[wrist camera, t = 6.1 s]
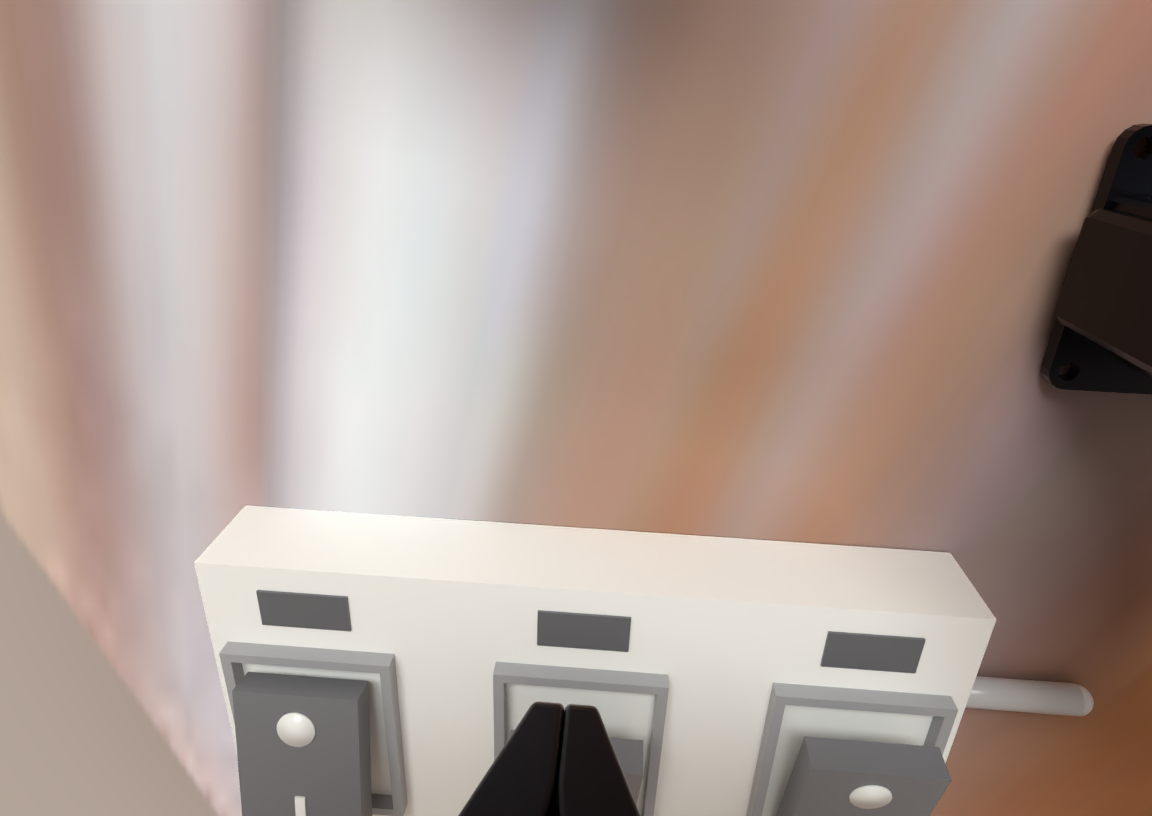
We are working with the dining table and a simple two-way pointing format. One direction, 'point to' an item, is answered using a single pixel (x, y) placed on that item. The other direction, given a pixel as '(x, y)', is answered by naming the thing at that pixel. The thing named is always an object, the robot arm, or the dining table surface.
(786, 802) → the rocker
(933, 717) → the power strip
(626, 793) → the robot arm
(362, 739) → the rocker
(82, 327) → the dining table surface
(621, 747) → the rocker middle
